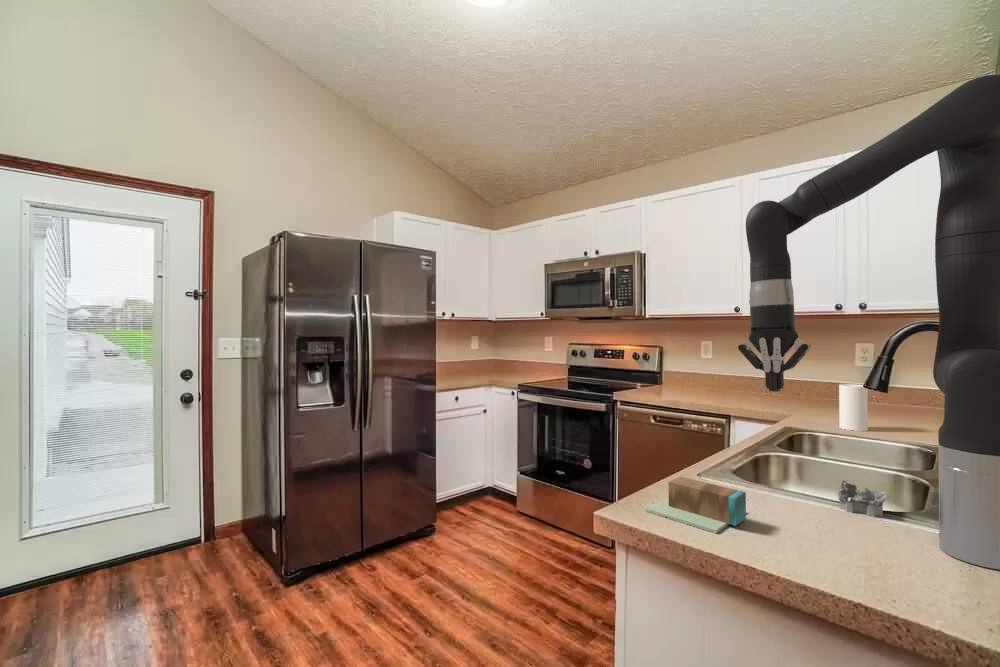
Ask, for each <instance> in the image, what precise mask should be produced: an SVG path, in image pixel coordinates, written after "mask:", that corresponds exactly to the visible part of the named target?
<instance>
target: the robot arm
mask: <svg viewBox="0 0 1000 667" xmlns="http://www.w3.org/2000/svg"><path fill="white" fill-rule="evenodd" d="M934 152H937V153H936V154H937V158H938V165H939V175H940V176H939V177H940V190H939V198H938V204H937V212H936V218H935V219H936V220H935V221H936V223H935V238H934V241H935V242H934V243H935V244H934V246H935V247H934V250H935V251H934V257H935V260H934V263H935V278H936V279H935V280H936V294H937V305H938V314H939V318H938V320H939V321H938V322H939V324H938V332H937V342H936V347H935V348H936V349H935V355H934V361H933V362H934V363H933V370H932V376H933V377H932V378H933V380H934V383H935V385H936V387H937V388H938V389H939V390H940V391H941V392H942V393H943V394H944V409H943V412H944V415H943V420H942V424H941V426H940V427H939V428H938V436H937V437H938V441H937V442H938V523H939V524H938V527H939V528H938V530H939V531H938V538H939V539H938V541H939V548H940V550H941V551H942V552H944V553H945V554H947V555H948V556H951V557H953V558H955V559H958V560H960V561H964V562H966V563H969V564H972V565H976V566H978V567H979V566H980V567H984V568H988V569H994V570H1000V74H996V73H995V74H986V75H983V76H979V77H978V76H977V77H975V78H973V79H971V80H968V81H966V82H964V83H963V84H961V85H960V86H957V87H956V88H955V89H954V90H952V91H951V92H950V93H948V94H947V95H945V96H944V97H942V98H941V99H939V100H938V101H936V102H935V103H933V105H931V106H930V107H928V108H927V109H925V110H924V111H923V112H921V113H920V114H918V115H917V116H915V117H914V118H912V119H910V120H909V121H908V122H907V123H904V124H903V125H902V126H900V127H899V128H897V129H896V130H894V131H893V132H891V133H889V134H887V135H886V136H885V137H883V138H881V139H879V140H878V141H876V142H874V143H872V144H871V145H869V146H867V147H865V148H864V149H862V150H861V151H859V152H857V153H855V154H854V155H852V156H849V157H848V158H846V159H845V160H842V161H841V162H839V163H837V164H835V165H833V166H831V167H829V168H828V169H826V170H823V172H820V173H819V174H817V175H815V176H812V178H810V179H808V180H806V181H804V182H803V183H801V184H800V185H798V186H797V188H796V189H795V191H794V192H793V193H791V194H790V195H788V196H786V197H785V198H783V199H782V200H780V201H778V202H777V201H774V200H762V201H760V202H757V203H755V205H753V206H752V207H751V208H750V210H749V211H748V213H747V214H746V218H745V234H746V241H747V248H748V251H749V258H750V259H749V262H750V263H749V264H750V265H749V274H750V275H749V277H750V278H749V280H750V286H749V300H748V304H749V316H750V318H749V319H750V332H749V335H748V339H747V340H746V341H745V342H744V343H742V344H741V343H740V344H739V345H738V346H737V349H738V350H739V352H740V353H741V354H742V356H744V358H746V360H747V361H748V362H749V363H750V365H752V366H753V368H755V369H756V370H760V371H763V372H764V375H765V376H764V380H765V388H766V389H768V390H769V392H775V393H778V392H780V391H781V390H782V389H784V386H785V382H784V379H785V378H784V377H785V376H784V373H785V372H786V371H789V370H792V369H794V368H795V367H796V366H797V365H798V363H799V362H800V361H801V360H802V359H803V357H804V356H806V354H807V353H808V352H809V351H810V350H811V349H812V345H811V344H810V343H809V342H807V343H806V342H805V341H804V340H801V339H800V338H799V335H798V332H797V331H796V328H795V327H796V322H795V318H796V317H795V304H794V303H795V300H794V299H795V296H794V294H795V293H794V286H793V283H792V266H791V265H792V263H791V256H790V253H789V251H788V238H787V237H788V235H790V234H792V233H793V232H795V231H797V230H798V229H800V228H801V227H803V226H805V225H806V224H808V223H810V222H811V221H812V220H813V219H816V218H817V217H819V216H821V215H824V214H826V213H828V212H830V211H832V210H834V209H836V208H838V207H840V206H842V205H844V204H846V203H848V202H851V201H852V200H855V199H856V198H858V197H860V196H861V195H863V194H865V193H867V192H868V191H870V190H872V189H873V188H874V187H876V186H878V185H879V184H881V183H882V182H884V181H885V180H887V179H888V178H890V177H891V176H893V175H895V174H896V173H898V172H899V171H901V170H903V169H904V168H905V167H907V166H909V165H911V164H913V163H915V162H917V161H919V160H920V159H922V158H924V157H926V156H929V155H931V154H932V153H934ZM793 346H794V348H793V349H794V350H793V351H795V352H794V353H793V354H792V355H791V356H790V357H789V359H787V361H786V362H785V359H786V354H787V353H789V351H790V350H791V349H792V347H793ZM754 348H755V349H756V350H757V351H758V353H760V356H761V359H760V358H759V356H758V355H757V354H756V353H755V352H754Z"/></svg>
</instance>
